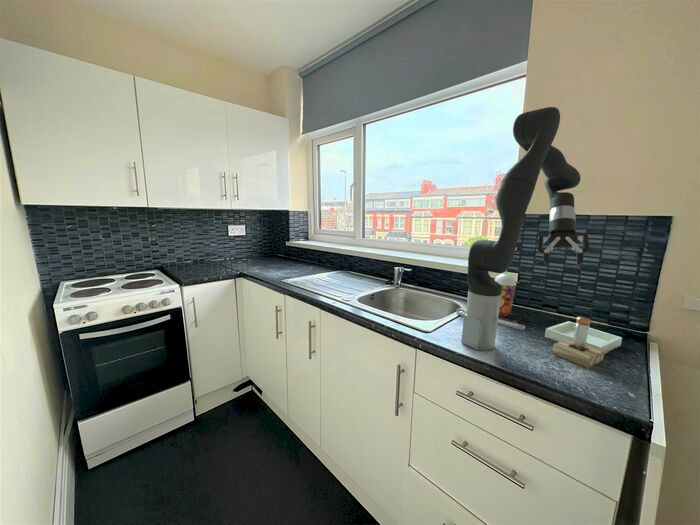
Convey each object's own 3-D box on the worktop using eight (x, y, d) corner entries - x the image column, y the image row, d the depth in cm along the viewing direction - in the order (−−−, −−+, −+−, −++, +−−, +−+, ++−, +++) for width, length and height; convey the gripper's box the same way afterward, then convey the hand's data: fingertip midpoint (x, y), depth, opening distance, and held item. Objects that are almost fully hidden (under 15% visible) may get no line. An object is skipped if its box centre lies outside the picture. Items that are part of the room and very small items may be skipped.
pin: (580, 360, 81) (587, 321, 79) (568, 355, 84) (574, 317, 82) (585, 358, 82) (592, 319, 80) (573, 353, 85) (580, 315, 83)
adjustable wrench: (525, 329, 103) (526, 325, 103) (520, 335, 99) (521, 330, 98) (459, 311, 120) (459, 307, 120) (452, 315, 116) (453, 310, 116)
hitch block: (587, 368, 77) (589, 357, 77) (551, 353, 85) (553, 344, 84) (602, 360, 81) (604, 350, 81) (567, 347, 89) (568, 338, 89)
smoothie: (492, 309, 123) (498, 264, 119) (514, 313, 117) (520, 267, 114) (487, 314, 117) (492, 267, 113) (509, 319, 111) (515, 270, 108)
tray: (598, 356, 83) (600, 347, 83) (544, 336, 96) (545, 328, 96) (620, 346, 90) (622, 337, 90) (567, 328, 103) (568, 321, 103)
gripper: (538, 218, 102) (537, 261, 98) (589, 215, 94) (591, 261, 90) (538, 226, 108) (537, 267, 104) (586, 224, 100) (587, 268, 96)
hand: (562, 264), depth 97 cm, fingers open, 8 cm apart
